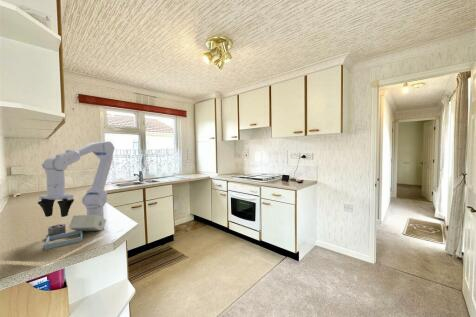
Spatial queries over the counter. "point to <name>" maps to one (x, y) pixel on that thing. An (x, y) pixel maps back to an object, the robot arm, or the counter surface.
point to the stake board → (66, 230)
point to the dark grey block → (56, 230)
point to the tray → (64, 240)
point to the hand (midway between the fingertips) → (56, 216)
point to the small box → (87, 223)
